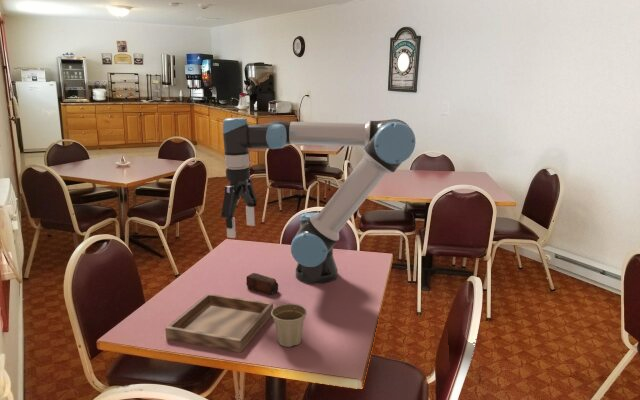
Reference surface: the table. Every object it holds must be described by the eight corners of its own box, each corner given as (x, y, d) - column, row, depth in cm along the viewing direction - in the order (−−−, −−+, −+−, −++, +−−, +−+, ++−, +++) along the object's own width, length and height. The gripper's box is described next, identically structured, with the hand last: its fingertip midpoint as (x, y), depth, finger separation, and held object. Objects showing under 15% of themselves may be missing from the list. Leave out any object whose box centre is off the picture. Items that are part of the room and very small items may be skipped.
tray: (273, 313, 138) (273, 303, 137) (240, 352, 117) (239, 341, 117) (208, 303, 144) (207, 293, 143) (166, 338, 123) (165, 327, 123)
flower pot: (272, 332, 127) (271, 303, 125) (305, 331, 128) (305, 302, 126) (271, 351, 118) (270, 321, 116) (307, 350, 119) (307, 319, 117)
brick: (246, 289, 154) (245, 276, 153) (253, 284, 158) (253, 272, 157) (271, 296, 149) (271, 283, 148) (278, 292, 152) (278, 278, 151)
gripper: (244, 160, 158) (248, 219, 163) (206, 173, 135) (211, 242, 140) (264, 161, 156) (267, 221, 161) (228, 174, 133) (233, 244, 138)
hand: (241, 231), depth 151 cm, fingers open, 13 cm apart
